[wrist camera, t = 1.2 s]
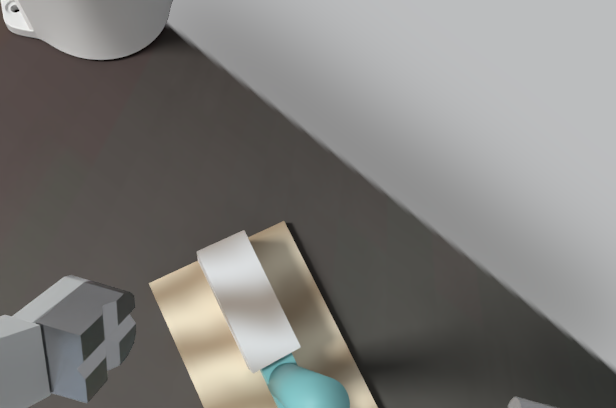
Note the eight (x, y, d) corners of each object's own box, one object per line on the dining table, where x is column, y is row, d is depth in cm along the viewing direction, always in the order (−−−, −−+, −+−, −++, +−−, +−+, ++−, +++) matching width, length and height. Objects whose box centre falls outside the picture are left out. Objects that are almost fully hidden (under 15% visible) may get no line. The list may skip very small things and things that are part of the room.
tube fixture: (150, 284, 44) (137, 274, 37) (282, 223, 49) (296, 202, 41) (283, 582, 40) (299, 640, 33) (415, 488, 44) (457, 520, 37)
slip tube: (209, 264, 43) (208, 226, 28) (239, 250, 44) (254, 205, 29) (292, 441, 41) (342, 507, 25) (322, 423, 42) (388, 476, 26)
